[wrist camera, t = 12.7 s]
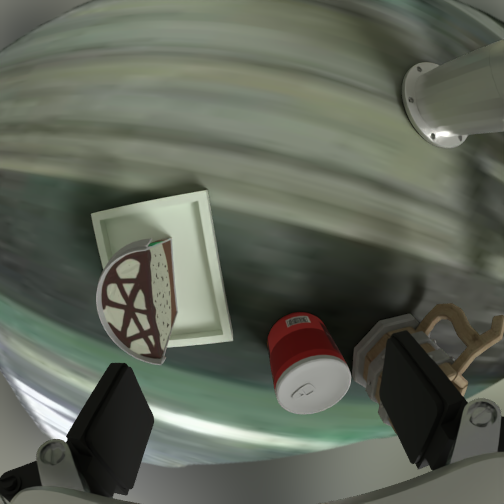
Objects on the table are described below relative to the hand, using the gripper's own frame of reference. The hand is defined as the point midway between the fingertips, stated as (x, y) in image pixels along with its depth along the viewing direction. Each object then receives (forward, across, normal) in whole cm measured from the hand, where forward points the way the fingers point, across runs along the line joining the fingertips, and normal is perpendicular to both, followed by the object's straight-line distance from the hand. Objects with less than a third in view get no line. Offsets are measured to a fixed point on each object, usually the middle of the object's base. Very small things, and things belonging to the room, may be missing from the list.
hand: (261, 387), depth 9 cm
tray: (+24, +11, +3) cm, 27 cm away
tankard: (+26, -21, +18) cm, 38 cm away
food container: (+24, +13, +3) cm, 28 cm away
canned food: (+25, -4, +14) cm, 29 cm away
